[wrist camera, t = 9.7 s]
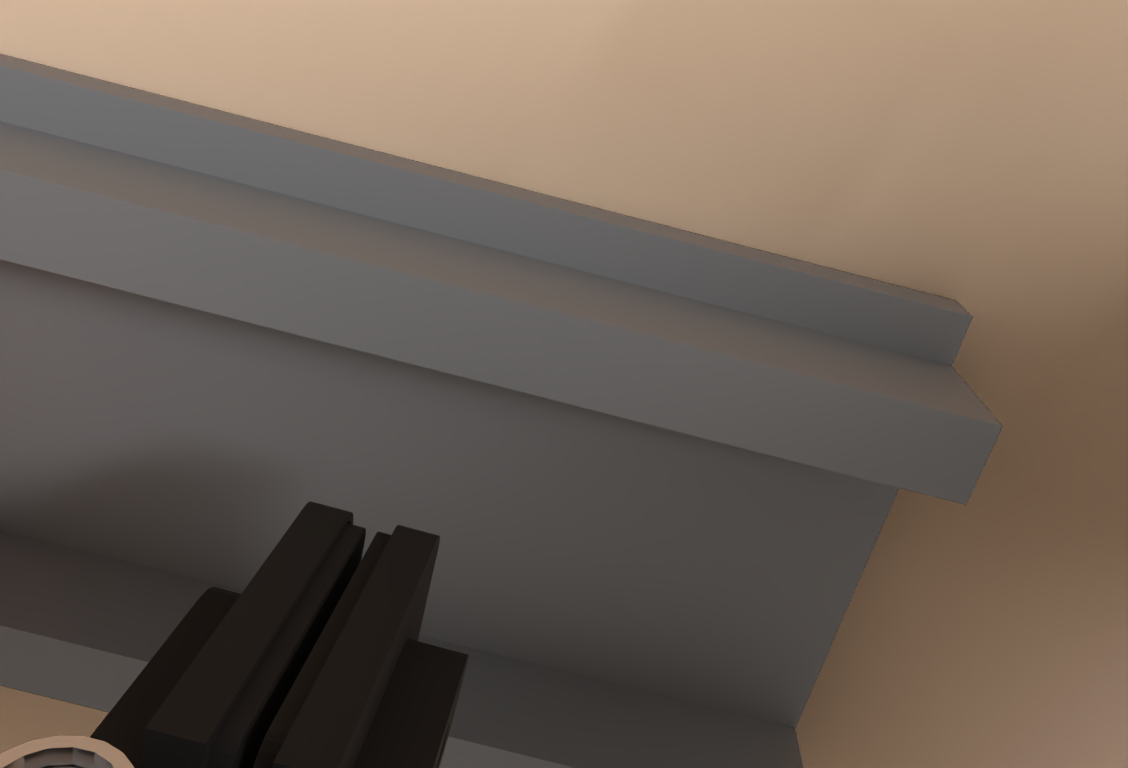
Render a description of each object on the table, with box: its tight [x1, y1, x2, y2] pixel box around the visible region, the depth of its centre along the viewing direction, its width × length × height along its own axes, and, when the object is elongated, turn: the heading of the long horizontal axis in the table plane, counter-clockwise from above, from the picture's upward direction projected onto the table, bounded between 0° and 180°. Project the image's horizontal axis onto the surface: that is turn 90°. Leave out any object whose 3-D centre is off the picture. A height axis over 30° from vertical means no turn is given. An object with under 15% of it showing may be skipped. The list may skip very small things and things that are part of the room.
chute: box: [0, 54, 1002, 768], centre depth 15 cm, size 28×10×3 cm, turn 76°
